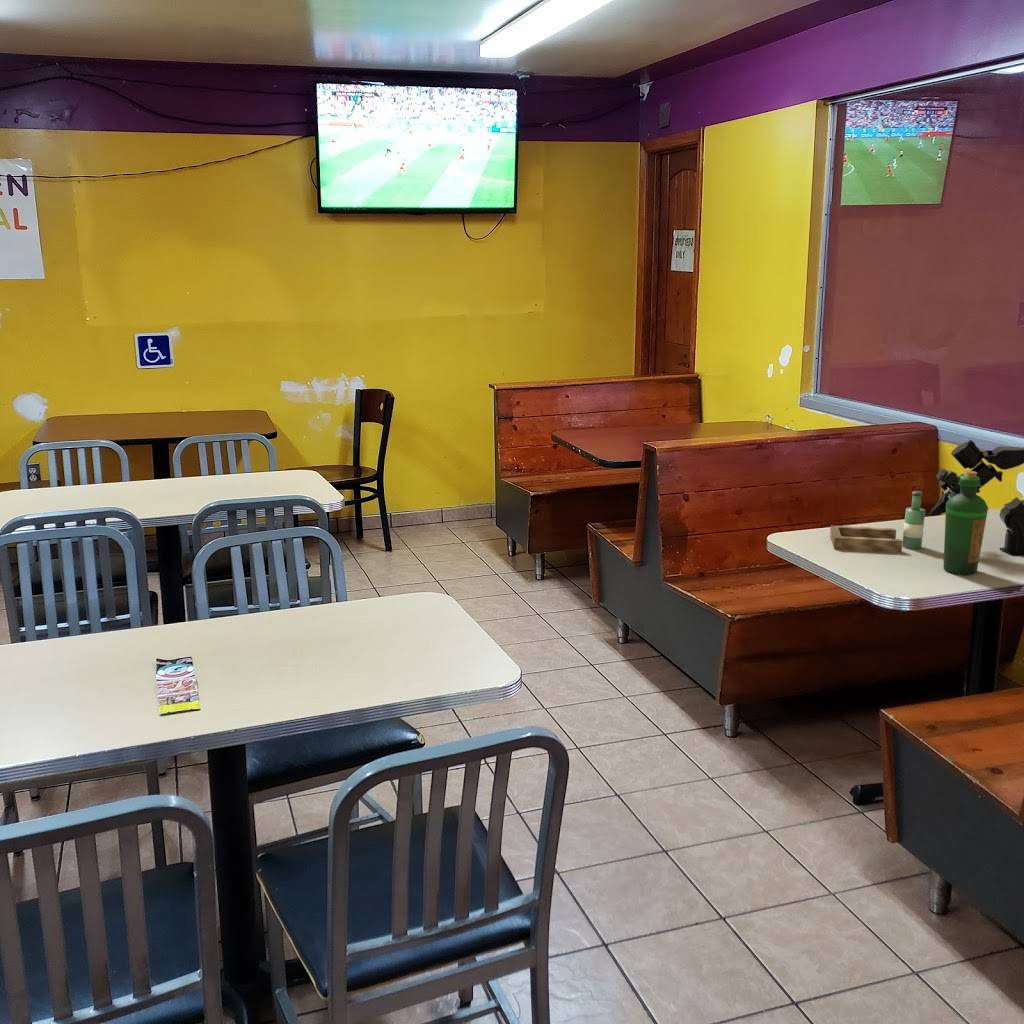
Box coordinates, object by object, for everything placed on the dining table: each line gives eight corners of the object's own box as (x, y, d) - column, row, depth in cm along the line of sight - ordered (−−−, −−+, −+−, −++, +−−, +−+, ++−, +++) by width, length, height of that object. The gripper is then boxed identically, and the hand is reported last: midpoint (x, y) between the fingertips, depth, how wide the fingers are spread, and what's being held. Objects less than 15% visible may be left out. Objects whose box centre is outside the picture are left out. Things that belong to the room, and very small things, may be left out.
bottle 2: (987, 576, 278) (999, 476, 271) (947, 576, 279) (958, 476, 272) (971, 565, 289) (982, 468, 282) (933, 565, 289) (943, 468, 282)
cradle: (894, 539, 314) (895, 528, 313) (901, 552, 301) (902, 541, 300) (829, 536, 318) (830, 525, 317) (834, 549, 305) (834, 537, 304)
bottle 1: (925, 548, 304) (930, 494, 300) (907, 549, 304) (913, 494, 299) (915, 543, 310) (921, 489, 305) (898, 544, 309) (903, 490, 305)
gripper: (949, 453, 307) (907, 488, 312) (962, 466, 289) (917, 502, 294) (974, 480, 307) (932, 514, 312) (989, 495, 289) (944, 530, 294)
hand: (930, 514), depth 303 cm, fingers closed
